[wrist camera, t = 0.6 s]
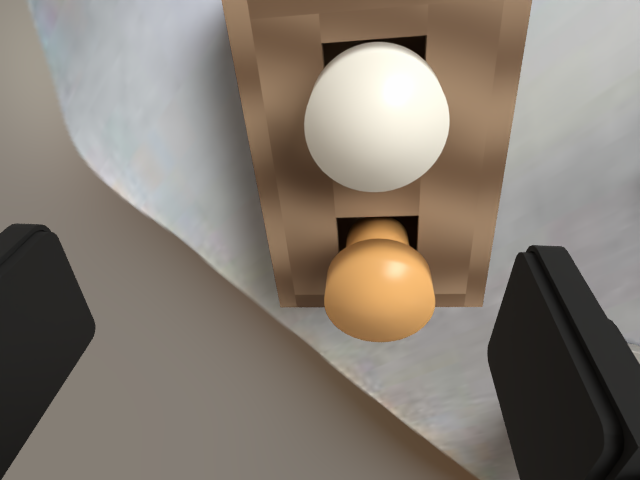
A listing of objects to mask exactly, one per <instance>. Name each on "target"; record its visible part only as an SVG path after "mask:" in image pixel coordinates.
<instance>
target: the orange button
mask: <svg viewBox="0 0 640 480" xmlns="http://www.w3.org/2000/svg"><path fill="white" fill-rule="evenodd" d="M324 306H325V310H326V313H327V315H328V317H329V319H330V320H331V321H332V323H333V324H334V325H335V326H336V327H337V328H338V329H340V330H341V331H342V332H344V333H346V334H348V335H350V336H352V337H354V338H357V339H361V340H365V341H371V342H389V341H395V340H400V339H403V338H406V337H408V336H410V335H412V334H414V333H416V332H417V331H419V330H420V329H422V328H423V327H424V326H425V325H426V324H427V322H428V321H429V320H430V318H431V316H432V314H433V312H434V308H435V296H434V290H433V284H432V278H431V273H430V269H429V266H428V264H427V262H426V260H425V259H424V258H423V256H422V255H421V254H420V253H419V252H417V251H416V250H415V249H413V248H412V247H410V246H409V240H408V234H407V231H406V229H405V227H404V226H403V225H402V224H401V223H400V222H399V221H397V220H396V219H394V218H392V217H389V216H382V217H364V218H362V219H360V220H358V221H357V222H356V223H354V224H353V225H352V227H351V228H350V230H349V232H348V234H347V242H346V248H344V249H343V250H342V251H340V252H339V253H338V254H337V255H336V256H335V258H334V259H333V260H332V262H331V264H330V266H329V269H328V272H327V280H326V288H325V297H324Z"/></svg>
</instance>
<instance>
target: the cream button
mask: <svg viewBox="0 0 640 480" xmlns="http://www.w3.org/2000/svg"><path fill="white" fill-rule="evenodd" d="M304 131H305V138H306V143H307V146H308V149H309V151H310V153H311V155H312V157H313V159H314V160H315V162H316V164H317V165H318V166H319V167H320V168H321V170H322V171H323V172H324V173H325V174H327V175H328V176H329V177H330V178H331V179H333V180H334V181H336V182H338V183H339V184H341V185H343V186H346V187H348V188H351V189H354V190H358V191H364V192H384V191H390V190H394V189H397V188H400V187H403V186H405V185H408V184H410V183H411V182H413V181H415V180H416V179H418V178H419V177H421V176H422V175H423V174H424V173H426V172H427V171H428V170H429V169H430V168H431V167H432V165H433V164H434V163H435V162H436V160H437V159H438V157H439V156H440V154H441V152H442V150H443V148H444V146H445V143H446V140H447V136H448V131H449V109H448V104H447V101H446V97H445V95H444V93H443V91H442V88H441V86H440V84H439V81H438V79H437V77H436V75H435V73H434V72H433V70H432V68H431V67H430V66H429V65H428V63H427V62H426V61H425V60H424V59H423V58H421V57H420V56H419V55H418V54H416V53H415V52H413V51H412V50H410V49H408V48H406V47H403V46H401V45H397V44H394V43H388V42H370V43H364V44H360V45H357V46H354V47H352V48H349V49H347V50H345V51H344V52H342V53H340V54H339V55H337V56H336V57H335V58H334V59H333V60H331V61H330V62H329V63H328V64H327V66H326V67H325V68H324V69H323V71H322V72H321V73H320V75H319V77H318V78H317V80H316V82H315V85H314V87H313V90H312V93H311V96H310V99H309V102H308V105H307V108H306V113H305V121H304Z"/></svg>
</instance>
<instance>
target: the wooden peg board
mask: <svg viewBox="0 0 640 480" xmlns="http://www.w3.org/2000/svg"><path fill="white" fill-rule="evenodd" d="M531 4H532V0H222V5H223V10H224V15H225V20H226V26H227V31H228V36H229V41H230V47H231V52H232V57H233V62H234V67H235V73H236V78H237V83H238V88H239V93H240V99H241V104H242V109H243V114H244V119H245V125H246V130H247V135H248V140H249V146H250V151H251V156H252V161H253V166H254V172H255V177H256V182H257V187H258V192H259V198H260V203H261V208H262V213H263V218H264V224H265V229H266V234H267V239H268V244H269V250H270V255H271V260H272V265H273V271H274V276H275V281H276V286H277V291H278V297H279V302H280V307H325V306H324V297H325V288H326V280H327V272H328V269H329V266H330V264H331V262H332V260H333V259H334V258H335V256H336V255H337V254H338V253H339V252H340V251H342V250H343V249H344V248H346V242H347V234H348V232H349V230H350V228H351V227H352V225H353V224H354V223H356V222H357V221H358V220H360V219H362V218H364V217H382V216H389V217H392V218H394V219H396V220H397V221H399V222H400V223H401V224H402V225H403V226H404V227H405V229H406V231H407V234H408V240H409V246H410V247H412V248H413V249H415V250H416V251H417V252H419V253H420V254H421V255H422V256H423V258H424V259H425V260H426V262H427V264H428V266H429V269H430V273H431V278H432V284H433V290H434V296H435V307H482V305H483V299H484V293H485V287H486V281H487V275H488V268H489V262H490V256H491V250H492V244H493V238H494V231H495V225H496V219H497V213H498V207H499V201H500V195H501V188H502V182H503V176H504V170H505V164H506V158H507V152H508V145H509V139H510V133H511V127H512V121H513V115H514V108H515V102H516V96H517V90H518V84H519V78H520V72H521V65H522V59H523V53H524V47H525V41H526V35H527V29H528V22H529V16H530V10H531ZM370 42H388V43H394V44H397V45H401V46H403V47H406V48H408V49H410V50H412V51H413V52H415V53H416V54H418V55H419V56H420V57H421V58H423V59H424V60H425V61H426V62H427V63H428V65H429V66H430V67H431V68H432V70H433V72H434V73H435V75H436V77H437V79H438V81H439V84H440V86H441V88H442V91H443V93H444V95H445V97H446V101H447V104H448V109H449V131H448V136H447V140H446V143H445V146H444V148H443V150H442V152H441V154H440V156H439V157H438V159H437V160H436V162H435V163H434V164H433V165H432V167H431V168H430V169H429V170H428V171H427V172H426V173H424V174H423V175H422V176H421V177H419V178H418V179H416V180H415V181H413V182H411V183H410V184H408V185H405V186H403V187H400V188H397V189H394V190H390V191H384V192H364V191H358V190H354V189H351V188H348V187H346V186H343V185H341V184H339V183H338V182H336V181H334V180H333V179H331V178H330V177H329V176H328V175H327V174H325V173H324V172H323V171H322V170H321V168H320V167H319V166H318V165H317V164H316V162H315V160H314V159H313V157H312V155H311V153H310V151H309V149H308V146H307V143H306V138H305V131H304V121H305V113H306V108H307V105H308V102H309V99H310V96H311V93H312V90H313V87H314V85H315V82H316V80H317V78H318V77H319V75H320V73H321V72H322V71H323V69H324V68H325V67H326V66H327V64H328V63H329V62H330V61H331V60H333V59H334V58H335V57H336V56H337V55H339V54H340V53H342V52H344V51H345V50H347V49H349V48H352V47H354V46H357V45H360V44H364V43H370Z"/></svg>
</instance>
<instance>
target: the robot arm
mask: <svg viewBox="0 0 640 480" xmlns="http://www.w3.org/2000/svg"><path fill="white" fill-rule="evenodd" d="M94 333H95V322H94V319H93V317H92V315H91V312H90V310H89V308H88V306H87V303H86V301H85V298H84V296H83V294H82V291H81V289H80V287H79V285H78V282H77V280H76V278H75V275H74V273H73V271H72V269H71V266H70V264H69V261H68V259H67V257H66V254H65V252H64V250H63V248H62V245H61V243H60V241H59V238H58V237H57V235H56V234H55V233H53V232H51V231H50V229H49V228H47V227H46V226H45V225H39V224H12V225H11V226H9V227H7V228H6V229H5V230H4V231H3V232H1V233H0V480H1V479H2V478H3V476H4V475H5V473H6V471H7V470H8V468H9V467H10V465H11V464H12V462H13V461H14V459H15V458H16V456H17V455H18V453H19V451H20V450H21V448H22V447H23V445H24V444H25V442H26V441H27V439H28V437H29V436H30V434H31V433H32V431H33V430H34V428H35V427H36V425H37V423H38V422H39V421H40V419H41V417H42V416H43V414H44V413H45V411H46V410H47V408H48V407H49V405H50V404H51V402H52V400H53V399H54V397H55V396H56V394H57V393H58V391H59V389H60V388H61V387H62V385H63V383H64V382H65V380H66V379H67V377H68V376H69V374H70V373H71V371H72V370H73V368H74V367H75V365H76V363H77V362H78V360H79V359H80V357H81V356H82V354H83V353H84V351H85V350H86V348H87V346H88V345H89V343H90V342H91V340H92V339H93V337H94ZM488 363H489V367H490V371H491V374H492V378H493V382H494V385H495V389H496V393H497V396H498V400H499V404H500V407H501V411H502V415H503V418H504V422H505V426H506V429H507V433H508V437H509V440H510V444H511V448H512V451H513V455H514V459H515V462H516V466H517V470H518V473H519V477H520V480H640V346H637V345H634V344H628V343H627V342H626V341H625V339H624V337H623V336H622V334H621V332H620V331H619V329H618V328H617V326H616V325H615V324H614V323H613V321H611V320H610V319H608V318H607V316H606V315H605V313H604V311H603V310H602V308H601V306H600V305H599V303H598V301H597V300H596V298H595V296H594V295H593V293H592V291H591V290H590V288H589V286H588V285H587V283H586V281H585V280H584V278H583V276H582V275H581V273H580V271H579V270H578V268H577V266H576V265H575V263H574V261H573V260H572V258H571V256H570V255H569V253H568V251H567V250H566V249H565V248H564V247H561V246H538V245H532V246H529V248H528V249H527V251H526V252H520V253H518V255H517V256H516V259H515V262H514V265H513V268H512V272H511V275H510V278H509V281H508V284H507V287H506V291H505V294H504V297H503V300H502V303H501V306H500V310H499V313H498V316H497V319H496V322H495V325H494V329H493V332H492V335H491V338H490V341H489V345H488Z"/></svg>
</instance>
